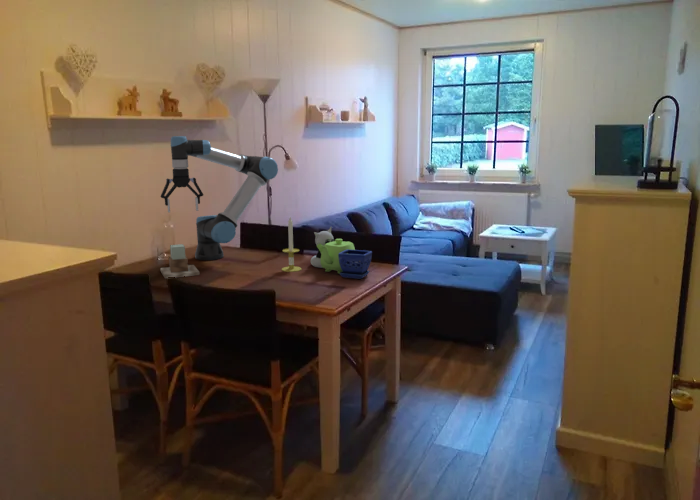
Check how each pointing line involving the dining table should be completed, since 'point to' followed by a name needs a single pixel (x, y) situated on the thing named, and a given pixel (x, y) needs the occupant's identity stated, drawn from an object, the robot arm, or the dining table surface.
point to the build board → (191, 272)
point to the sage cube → (177, 251)
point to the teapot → (333, 254)
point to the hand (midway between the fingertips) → (183, 211)
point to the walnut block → (178, 265)
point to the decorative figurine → (321, 239)
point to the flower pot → (354, 263)
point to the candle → (291, 250)
